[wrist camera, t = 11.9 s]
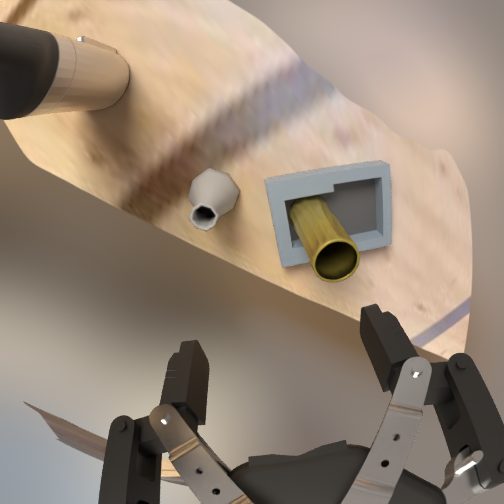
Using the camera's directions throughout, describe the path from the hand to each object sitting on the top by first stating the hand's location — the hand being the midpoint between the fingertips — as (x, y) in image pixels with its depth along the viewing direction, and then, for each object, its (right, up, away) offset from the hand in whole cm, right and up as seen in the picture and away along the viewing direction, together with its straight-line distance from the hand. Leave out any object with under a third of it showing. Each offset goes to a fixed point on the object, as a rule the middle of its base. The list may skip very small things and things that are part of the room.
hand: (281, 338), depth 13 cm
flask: (-7, +13, +26) cm, 30 cm away
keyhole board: (+10, +10, +27) cm, 31 cm away
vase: (+7, +10, +28) cm, 30 cm away
